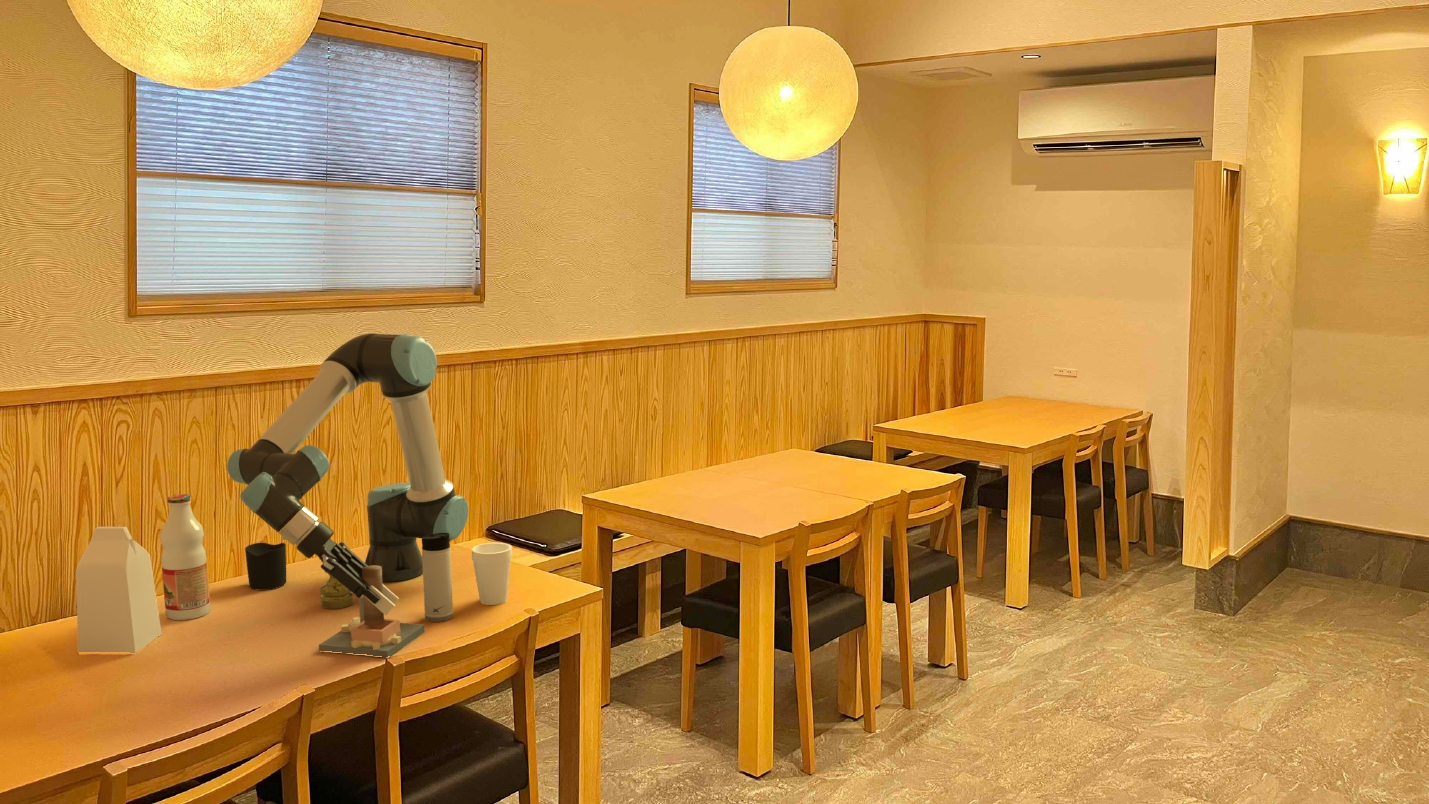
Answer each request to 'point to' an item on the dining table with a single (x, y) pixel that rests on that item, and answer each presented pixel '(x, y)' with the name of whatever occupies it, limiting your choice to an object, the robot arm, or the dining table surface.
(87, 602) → the milk
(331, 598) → the salt shaker
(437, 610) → the travel mug
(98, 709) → the dining table surface
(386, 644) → the gear board
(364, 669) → the dining table surface
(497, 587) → the foam cup
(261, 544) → the pen holder
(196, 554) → the fruit juice
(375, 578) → the wooden dowel peg
